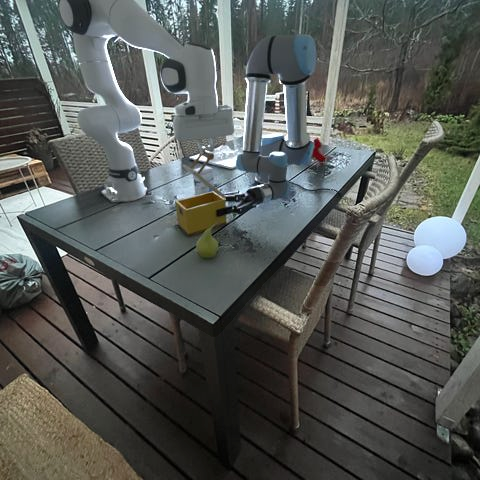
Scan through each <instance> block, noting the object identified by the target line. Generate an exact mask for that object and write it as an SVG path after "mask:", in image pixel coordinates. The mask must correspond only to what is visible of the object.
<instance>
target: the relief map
mask: <svg viewBox="0 0 480 480" xmlns="http://www.w3.org/2000/svg"><path fill="white" fill-rule="evenodd" d="M210 153H212V154H213V155H214V158H213V159H212V160H209V162H208V163H207V164H209V165H214V166H217V167H222V168H226V169H230V170H233V169H235V168H237V167H236V159H237V156H238V154H240V153H243V148H238V149H235V150H233V149H231V148H230V147H229V146H228V145H227V144H225V145H224V144H221V145H220V146H219V147H216V148H214V151H213V152H210ZM199 154H200V153H198V154H196V155H192V156H189V160H193V161H195V160H196V159H197V157H198V156H199ZM206 160H207V158H206V157H204V156H201V158H200V159H199V160H198V162H201V163H203V164H204V163H205V161H206Z"/></svg>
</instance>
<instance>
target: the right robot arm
mask: <svg viewBox="0 0 480 480" xmlns="http://www.w3.org/2000/svg"><path fill="white" fill-rule="evenodd" d="M316 47H317V45H316V41H315V39H314V37H312V36H311V35H310V34H302V33H297V34H283V35H269V36H265V37H264V38H262V39H261V40H260V41H259V42H258V43H257V44H256V46H254V48H253V50H252V52H251V54H250V56H249V58H248V61H247V65H246V69H245V78H244V79H245V81H246V83H247V88H246V101H245V102H246V103H245V113H244V114H245V116H244V128H243V129H244V133H243V143H242V150H243V153H240V154H238V156H237V159H236V167H235V168H237V170H239V171H242V172H245V173H251V174H255V178H254V181H255V183H258V184H259V185H256V186H252V187H249V188H247V189H246V191H245V192H240V190H238V189H237V190H233V191H226V192H221V193H222V194H224V195H225V196H226V198H225V199H226V203H229V202H231V203H232V202H234V203H236V204H232V205H229V206H226V207H225V208H221V209H218V210H216V212H217V217H220V216H223V215H226V216H227V215H230V214H237V215H239V216H240V215H242V214H244V213H246V212H248V211H250V210H253V209H255V208H257V206H259V205H262V204H265V203H268V202H271V201H272V202H273V201H276V200H279V199H282V198H285V197H287V196H288V195H290V194H291V191H292V187H291V185H294V186H297V187H299V188H301V189H302V190H304V191H308V192H317V191H331V192H332V191H333V190H334V191H333V192H335V191H336V192H335V193H336V194H338V195H339V197H341V196H342V194H341V193H340V191H338V190H336V189H335V188H334V189H333V188H327V187H326V188H325V187H321V188H315V189H309V188H305V187H304V186H302V185H300V184H297V183H295V182H292V181H289V180H288V179H287V174H288V165H295V166H299V167H300V166H304V167H305V166H307V165H309V163H310V161H311V160H312V158H311V157H312V153H313V150H314V144H315V143H314V141H312V140H313V139H311V135H310V134H309V132H308V131H307V129H308V128H307V127H308V125H307V122H308V121H307V119H308V116H307V115H308V114H307V113H308V112H307V111H308V110H307V108H308V107H307V82H308V81H309V79H311V75H312V74H314V71H315V69H316V65H317V62H316V60H317V48H316ZM272 75H278V80H279V83H280V84H281V85H283V94H284V107H285V110H284V111H285V121H286V134H287V135H286V136H285V135H284V134H283V133H270V134H266V135H263V128H264V119H265V108H266V102H267V101H266V97H267V92H268V91H267V90H268V84H269V83H270V82H271V79H272V78H271V77H272ZM330 189H331V190H330Z"/></svg>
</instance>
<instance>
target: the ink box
mask: <svg viewBox="0 0 480 480" xmlns="http://www.w3.org/2000/svg"><path fill="white" fill-rule="evenodd" d="M200 168H201V167H198V168H193V170H194V171H196V172H198V171H199V170H200ZM199 175H201V176H202V177H203V178H204V179H205V180H207V181H208V182H209V183H210V184H212V185H213V186H214V187H215V182H214V168H213V167H210V166H208V165H206V166H205V167H204V169H203V170H202V172H201V173H200V174H199ZM192 178H193V185H194V186H193V187H194V194H195V195H200V194H204V193H208V192H212V190H211V189H209V188H208V187H207V186H206V185H204V184H203V183H202V182H201V181H200V180H198V179H197V178H196V177H195V176H193V175H192Z"/></svg>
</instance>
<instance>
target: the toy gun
mask: <svg viewBox="0 0 480 480" xmlns="http://www.w3.org/2000/svg"><path fill="white" fill-rule="evenodd" d="M311 140H312V141H314V143H315V144H314V150H313V153H312V157H311V159H313V158H314V159H315V160H317V161H318V162H319V165H321V164H322V163H320V162H323V161H324V163H325V162H326V159H327V156H326V155H325V154H323V152H321V151H320V149H321V148H322V145H323V143H322V142H321V140H320V139H319V137H318V136H316V137H315V138H313V139H311Z"/></svg>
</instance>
